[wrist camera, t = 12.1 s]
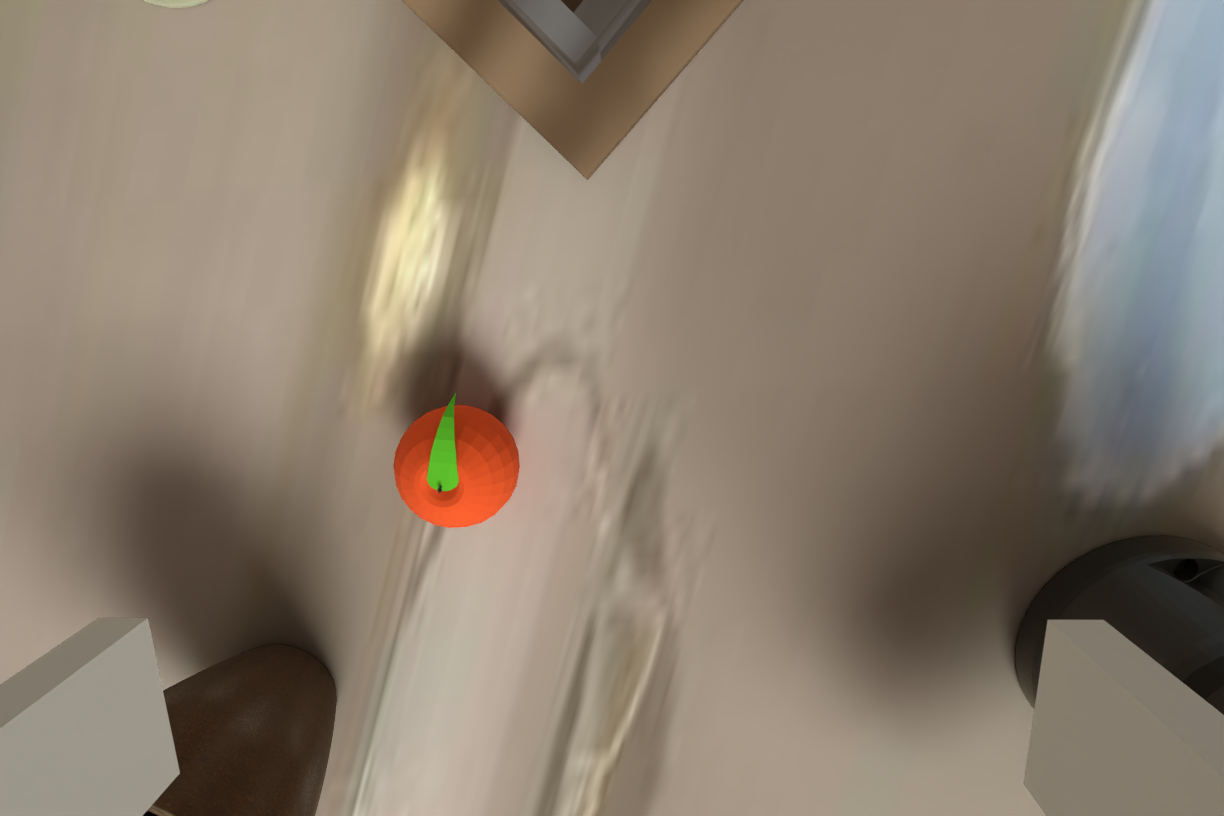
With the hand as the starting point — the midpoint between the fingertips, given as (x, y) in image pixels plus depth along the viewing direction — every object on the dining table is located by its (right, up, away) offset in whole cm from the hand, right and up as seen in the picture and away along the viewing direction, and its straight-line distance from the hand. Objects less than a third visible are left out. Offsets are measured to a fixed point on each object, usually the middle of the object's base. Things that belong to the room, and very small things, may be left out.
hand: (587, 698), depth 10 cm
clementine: (-8, +2, +31) cm, 32 cm away
